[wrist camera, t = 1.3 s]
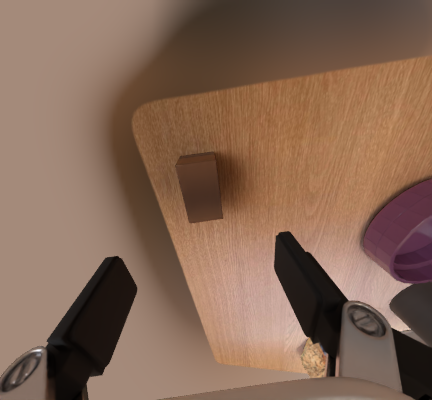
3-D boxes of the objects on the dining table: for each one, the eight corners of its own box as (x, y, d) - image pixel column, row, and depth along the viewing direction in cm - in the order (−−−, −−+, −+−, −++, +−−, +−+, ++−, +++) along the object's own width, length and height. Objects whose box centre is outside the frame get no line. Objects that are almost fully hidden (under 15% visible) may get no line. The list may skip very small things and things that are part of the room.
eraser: (180, 156, 19) (174, 165, 15) (213, 151, 19) (216, 159, 16) (191, 206, 22) (189, 223, 19) (220, 202, 22) (223, 218, 19)
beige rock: (302, 306, 48) (315, 328, 41) (354, 318, 46) (377, 343, 39) (291, 359, 50) (300, 390, 42) (341, 373, 48) (360, 407, 41)
